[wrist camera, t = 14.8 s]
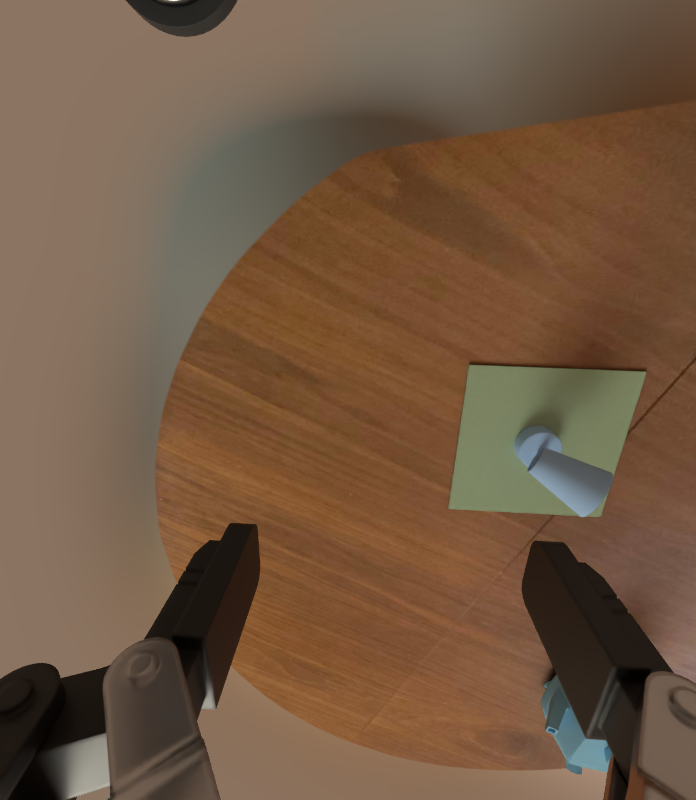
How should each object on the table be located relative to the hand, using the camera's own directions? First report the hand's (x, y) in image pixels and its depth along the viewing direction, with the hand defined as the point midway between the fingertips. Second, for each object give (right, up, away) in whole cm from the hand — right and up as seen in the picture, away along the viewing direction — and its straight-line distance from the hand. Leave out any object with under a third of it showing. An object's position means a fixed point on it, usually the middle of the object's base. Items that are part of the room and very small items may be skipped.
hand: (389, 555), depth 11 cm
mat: (+20, 0, +31) cm, 37 cm away
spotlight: (+20, 0, +31) cm, 37 cm away
